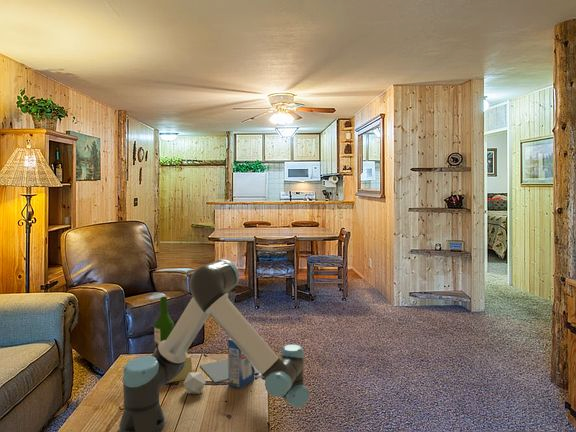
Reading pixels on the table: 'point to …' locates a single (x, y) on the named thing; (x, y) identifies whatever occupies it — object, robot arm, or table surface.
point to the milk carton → (238, 367)
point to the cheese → (184, 370)
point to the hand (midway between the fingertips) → (251, 357)
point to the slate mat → (217, 370)
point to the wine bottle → (163, 323)
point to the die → (194, 383)
